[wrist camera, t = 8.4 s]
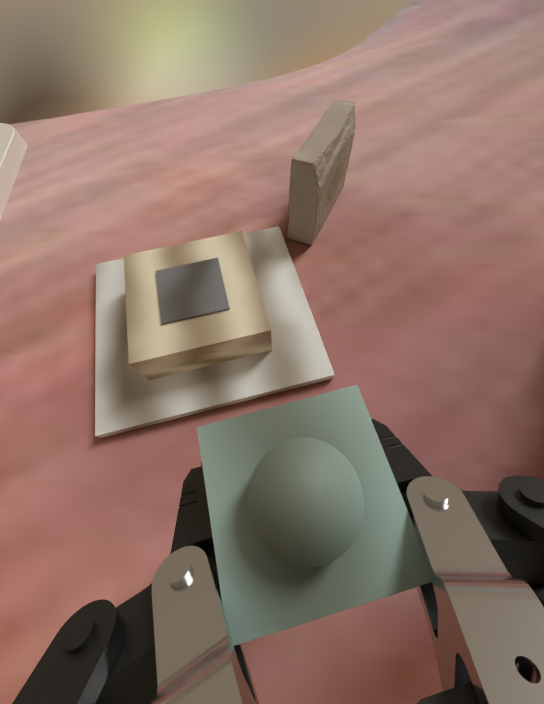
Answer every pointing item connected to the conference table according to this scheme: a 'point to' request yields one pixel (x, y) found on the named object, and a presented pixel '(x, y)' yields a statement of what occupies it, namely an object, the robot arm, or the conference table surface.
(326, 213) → the fossil
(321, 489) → the post
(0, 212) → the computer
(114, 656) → the robot arm
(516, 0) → the conference table surface
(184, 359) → the stand
